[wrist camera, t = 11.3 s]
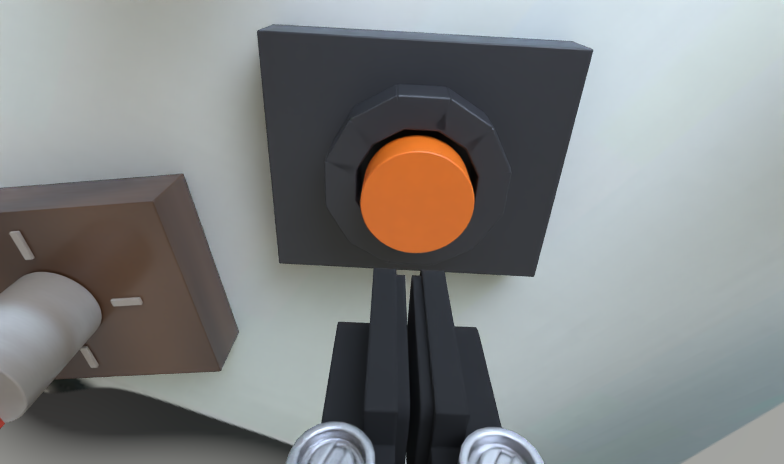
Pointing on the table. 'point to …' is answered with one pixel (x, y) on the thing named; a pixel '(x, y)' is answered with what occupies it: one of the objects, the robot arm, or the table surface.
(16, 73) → the table surface
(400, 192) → the button
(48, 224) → the dial panel
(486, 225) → the button base
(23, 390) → the dial
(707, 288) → the table surface
